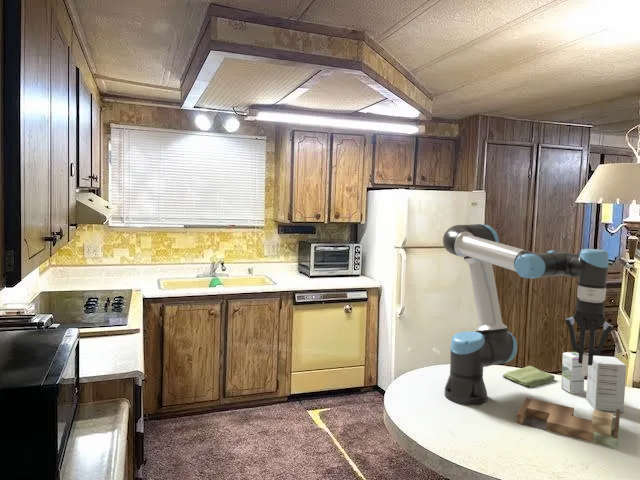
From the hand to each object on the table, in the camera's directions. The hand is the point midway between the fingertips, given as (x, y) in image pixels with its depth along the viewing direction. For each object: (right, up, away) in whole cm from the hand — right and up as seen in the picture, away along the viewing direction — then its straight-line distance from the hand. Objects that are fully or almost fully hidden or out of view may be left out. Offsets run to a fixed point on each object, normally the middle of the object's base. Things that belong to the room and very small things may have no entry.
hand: (584, 374), depth 146 cm
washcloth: (+3, -16, +46) cm, 49 cm away
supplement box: (+19, -18, +22) cm, 34 cm away
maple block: (+4, -16, -3) cm, 17 cm away
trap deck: (-2, -19, +7) cm, 20 cm away
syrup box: (+15, -17, +34) cm, 41 cm away
